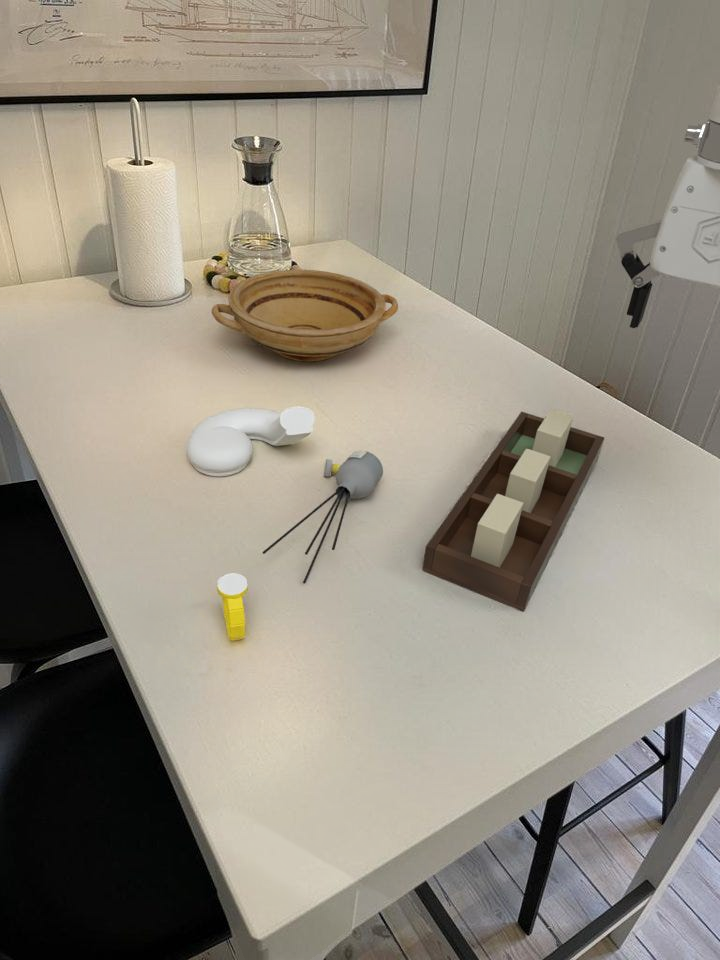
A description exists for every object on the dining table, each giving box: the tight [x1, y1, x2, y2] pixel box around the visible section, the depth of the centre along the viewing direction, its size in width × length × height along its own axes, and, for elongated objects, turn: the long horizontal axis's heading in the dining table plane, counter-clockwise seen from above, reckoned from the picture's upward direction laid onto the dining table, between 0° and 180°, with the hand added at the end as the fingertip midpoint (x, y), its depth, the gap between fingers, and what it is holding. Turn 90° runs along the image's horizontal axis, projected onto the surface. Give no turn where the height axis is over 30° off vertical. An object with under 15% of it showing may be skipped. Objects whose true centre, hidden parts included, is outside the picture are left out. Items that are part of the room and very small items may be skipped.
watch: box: [216, 572, 249, 642], centre depth 70 cm, size 6×3×6 cm, turn 16°
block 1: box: [471, 494, 523, 567], centre depth 80 cm, size 3×6×6 cm, turn 152°
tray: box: [422, 411, 606, 612], centre depth 89 cm, size 11×32×4 cm, turn 152°
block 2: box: [505, 449, 550, 513], centre depth 88 cm, size 3×6×6 cm, turn 152°
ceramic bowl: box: [211, 269, 399, 362], centre depth 118 cm, size 30×24×8 cm
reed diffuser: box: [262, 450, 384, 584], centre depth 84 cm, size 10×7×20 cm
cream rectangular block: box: [532, 408, 574, 467], centre depth 95 cm, size 3×6×6 cm, turn 152°
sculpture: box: [186, 405, 316, 477], centre depth 93 cm, size 12×15×8 cm
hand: (685, 335), depth 74 cm, fingers open, 9 cm apart
